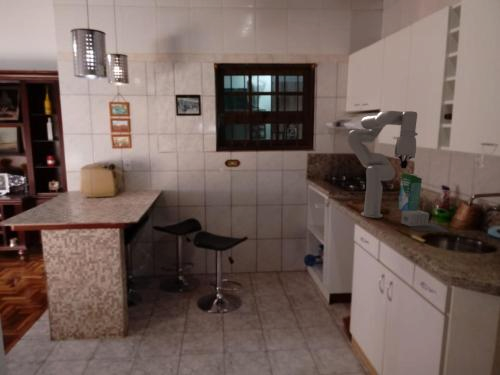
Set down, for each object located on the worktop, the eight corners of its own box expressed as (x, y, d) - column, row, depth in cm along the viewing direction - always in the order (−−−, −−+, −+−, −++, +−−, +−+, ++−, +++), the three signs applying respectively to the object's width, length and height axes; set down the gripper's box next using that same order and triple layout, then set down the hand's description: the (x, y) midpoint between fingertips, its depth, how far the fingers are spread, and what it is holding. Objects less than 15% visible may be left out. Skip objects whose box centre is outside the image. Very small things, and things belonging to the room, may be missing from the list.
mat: (402, 222, 211) (402, 221, 211) (433, 224, 211) (433, 223, 211) (415, 230, 194) (415, 230, 194) (449, 232, 193) (449, 231, 193)
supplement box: (402, 210, 206) (420, 210, 210) (400, 223, 207) (418, 222, 211) (411, 213, 199) (429, 213, 203) (409, 226, 200) (428, 226, 204)
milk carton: (417, 211, 245) (422, 174, 241) (407, 212, 242) (412, 174, 238) (407, 208, 253) (412, 173, 250) (397, 209, 250) (401, 173, 246)
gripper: (418, 135, 200) (414, 168, 203) (391, 133, 200) (387, 166, 203) (424, 135, 193) (420, 169, 196) (396, 134, 193) (392, 168, 196)
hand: (403, 168), depth 200 cm, fingers closed
